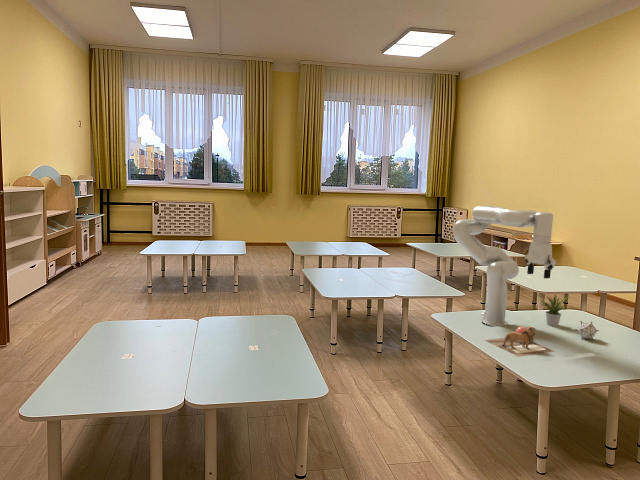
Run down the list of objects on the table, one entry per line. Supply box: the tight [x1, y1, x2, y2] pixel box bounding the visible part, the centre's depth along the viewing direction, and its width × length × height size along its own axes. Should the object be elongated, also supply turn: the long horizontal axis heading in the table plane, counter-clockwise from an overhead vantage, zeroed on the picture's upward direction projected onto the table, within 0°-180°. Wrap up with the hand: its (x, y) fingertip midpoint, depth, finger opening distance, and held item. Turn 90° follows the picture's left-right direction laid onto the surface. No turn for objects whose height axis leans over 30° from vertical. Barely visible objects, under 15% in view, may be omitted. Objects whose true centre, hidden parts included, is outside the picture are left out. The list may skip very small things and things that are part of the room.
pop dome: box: [515, 326, 527, 333], centre depth 210 cm, size 5×5×6 cm
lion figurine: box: [502, 326, 537, 349], centre depth 200 cm, size 15×5×9 cm, turn 98°
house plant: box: [539, 293, 570, 327], centre depth 239 cm, size 14×14×16 cm
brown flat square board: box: [484, 337, 556, 357], centre depth 204 cm, size 20×20×1 cm
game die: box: [574, 320, 600, 341], centre depth 219 cm, size 9×8×10 cm
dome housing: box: [513, 330, 534, 344], centre depth 211 cm, size 7×7×3 cm
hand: (538, 276), depth 219 cm, fingers open, 9 cm apart
